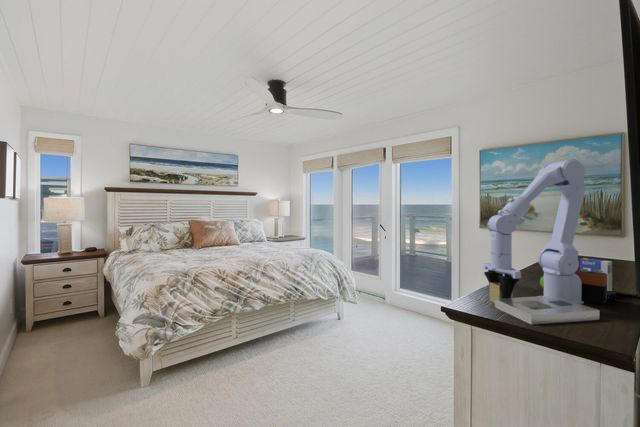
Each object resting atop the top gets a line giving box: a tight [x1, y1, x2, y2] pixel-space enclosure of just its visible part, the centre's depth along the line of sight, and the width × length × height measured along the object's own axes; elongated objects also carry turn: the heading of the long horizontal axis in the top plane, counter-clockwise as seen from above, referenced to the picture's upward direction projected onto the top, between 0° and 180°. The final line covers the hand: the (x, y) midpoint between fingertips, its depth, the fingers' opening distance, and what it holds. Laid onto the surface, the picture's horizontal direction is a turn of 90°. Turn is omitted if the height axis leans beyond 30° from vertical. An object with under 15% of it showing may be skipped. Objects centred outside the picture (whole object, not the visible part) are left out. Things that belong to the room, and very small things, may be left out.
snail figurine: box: [539, 275, 544, 289], centre depth 114 cm, size 5×6×12 cm
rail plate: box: [494, 295, 600, 325], centre depth 91 cm, size 20×14×3 cm
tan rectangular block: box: [489, 282, 514, 304], centre depth 101 cm, size 4×4×6 cm
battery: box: [576, 269, 608, 305], centre depth 101 cm, size 4×7×10 cm, turn 39°
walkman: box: [579, 257, 613, 291], centre depth 107 cm, size 8×3×12 cm, turn 28°
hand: (500, 296), depth 101 cm, fingers closed on tan rectangular block, 4 cm apart
